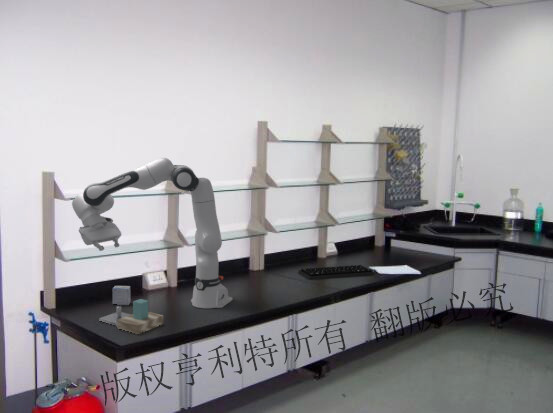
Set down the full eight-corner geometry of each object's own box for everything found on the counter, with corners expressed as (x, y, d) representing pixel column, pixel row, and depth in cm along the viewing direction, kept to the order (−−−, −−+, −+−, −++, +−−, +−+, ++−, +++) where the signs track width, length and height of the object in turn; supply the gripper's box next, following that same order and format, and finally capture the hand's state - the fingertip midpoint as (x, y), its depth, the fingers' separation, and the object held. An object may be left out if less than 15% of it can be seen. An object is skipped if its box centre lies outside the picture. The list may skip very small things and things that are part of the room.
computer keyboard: (309, 280, 333) (309, 274, 333) (298, 274, 348) (298, 268, 347) (374, 276, 350) (374, 270, 350) (361, 270, 365) (361, 264, 364)
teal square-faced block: (140, 315, 248) (140, 298, 247) (148, 317, 246) (148, 300, 245) (133, 318, 244) (133, 301, 243) (140, 320, 242) (141, 303, 241)
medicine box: (130, 302, 277) (130, 285, 276) (128, 305, 273) (128, 288, 272) (114, 302, 277) (114, 285, 276) (112, 305, 273) (112, 288, 271)
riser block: (142, 318, 255) (142, 310, 255) (163, 324, 250) (163, 315, 249) (117, 328, 241) (117, 320, 241) (138, 334, 236) (138, 325, 235)
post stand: (118, 314, 260) (118, 300, 259) (138, 319, 254) (138, 305, 253) (99, 321, 249) (99, 307, 248) (118, 327, 244) (118, 312, 243)
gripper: (80, 223, 248) (96, 247, 245) (114, 217, 266) (129, 240, 263) (73, 232, 251) (89, 256, 248) (107, 226, 269) (122, 248, 265)
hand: (110, 248), depth 255 cm, fingers open, 8 cm apart
